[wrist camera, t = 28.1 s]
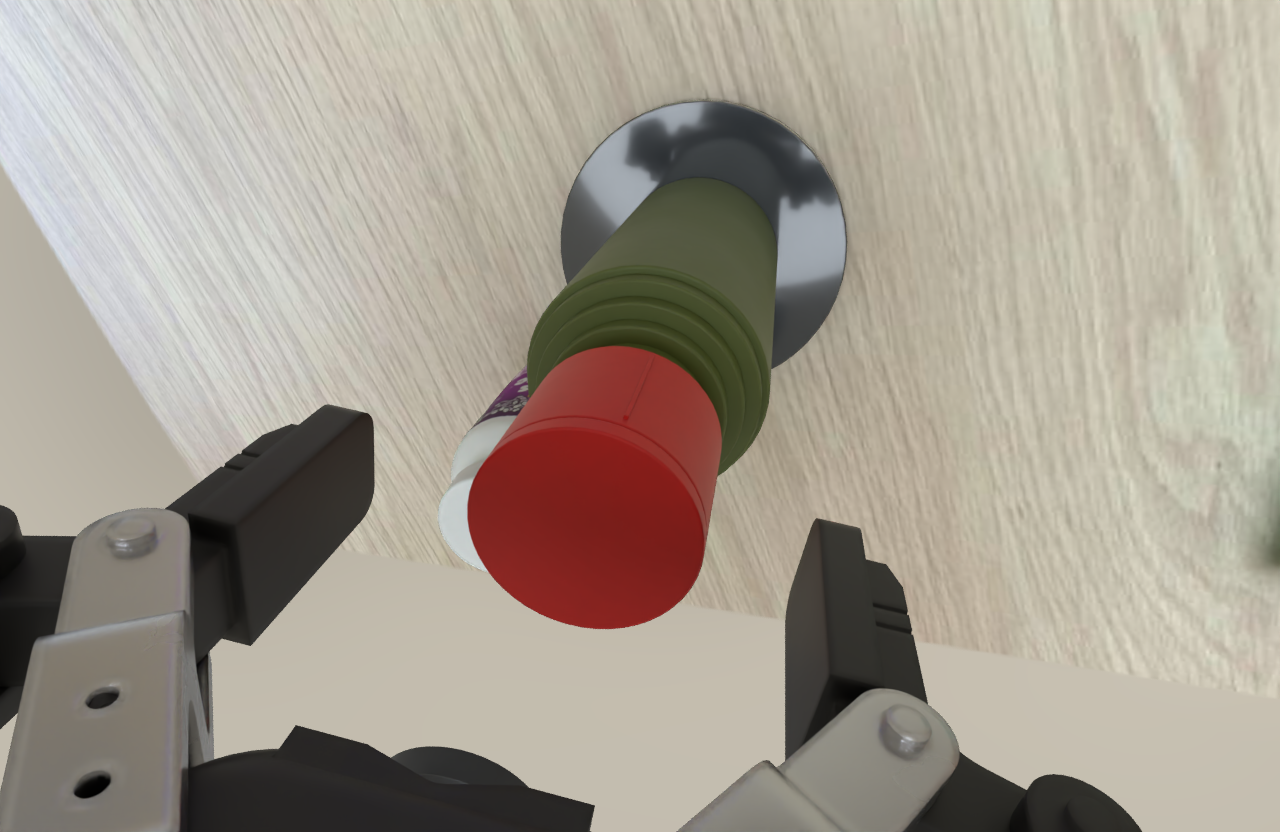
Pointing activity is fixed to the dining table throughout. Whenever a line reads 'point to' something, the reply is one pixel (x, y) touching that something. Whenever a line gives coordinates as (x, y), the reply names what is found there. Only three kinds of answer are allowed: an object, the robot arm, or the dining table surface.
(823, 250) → the coaster
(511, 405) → the pill bottle
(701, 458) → the bottle cap
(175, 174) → the dining table surface
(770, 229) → the bottle
